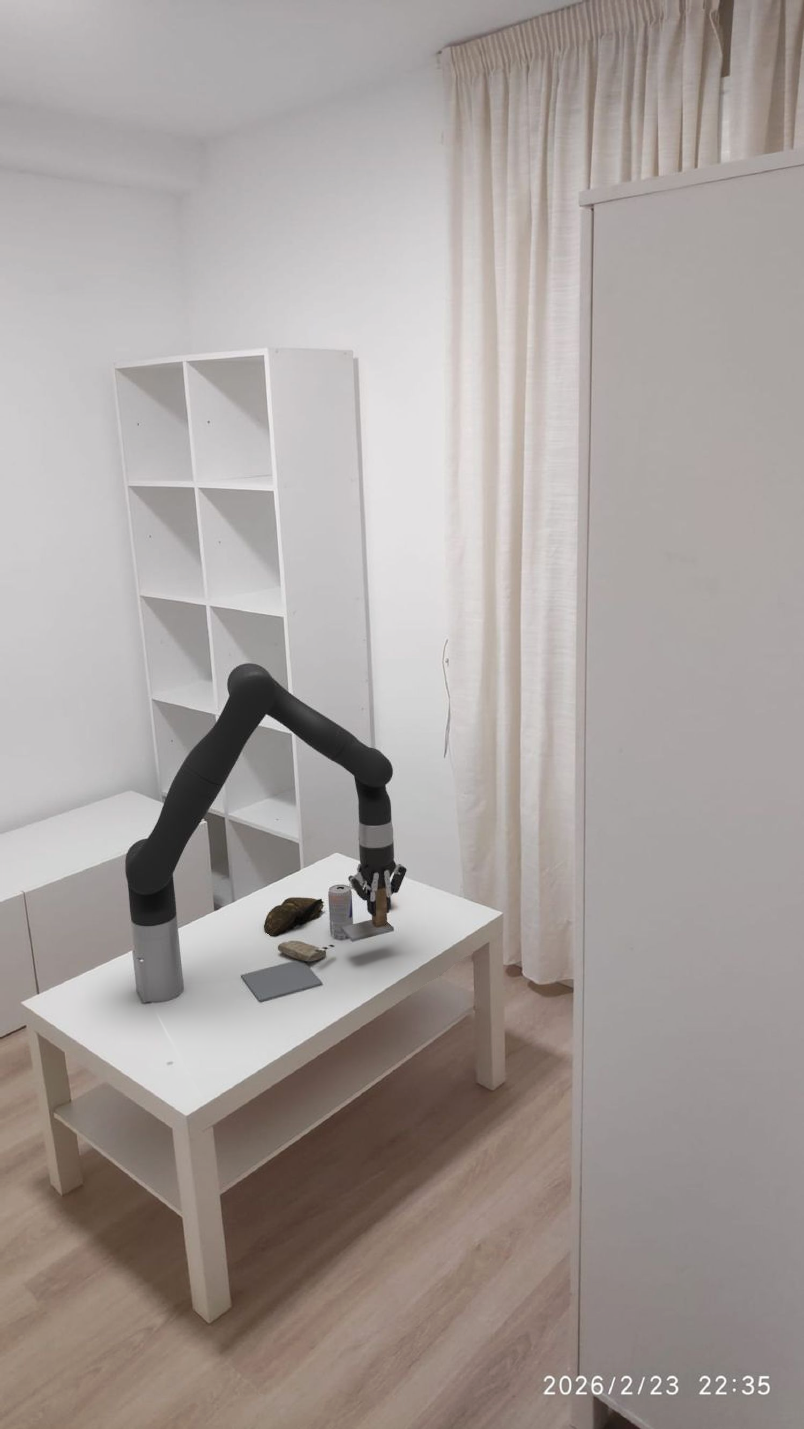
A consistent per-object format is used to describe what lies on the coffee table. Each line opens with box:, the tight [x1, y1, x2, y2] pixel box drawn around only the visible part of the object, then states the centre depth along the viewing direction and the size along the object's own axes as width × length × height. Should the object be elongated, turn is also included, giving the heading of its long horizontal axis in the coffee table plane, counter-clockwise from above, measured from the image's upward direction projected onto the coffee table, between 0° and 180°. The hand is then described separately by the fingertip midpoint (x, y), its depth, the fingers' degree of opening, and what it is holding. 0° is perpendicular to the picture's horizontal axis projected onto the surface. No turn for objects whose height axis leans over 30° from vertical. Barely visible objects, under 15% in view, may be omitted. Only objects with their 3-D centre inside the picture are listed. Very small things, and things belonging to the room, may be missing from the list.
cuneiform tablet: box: [277, 940, 335, 962], centre depth 230 cm, size 6×4×12 cm
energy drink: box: [327, 884, 354, 941], centre depth 238 cm, size 5×5×12 cm
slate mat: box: [240, 959, 324, 1003], centre depth 221 cm, size 14×12×1 cm
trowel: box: [341, 884, 395, 943], centre depth 227 cm, size 10×6×10 cm, turn 117°
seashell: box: [263, 896, 325, 937], centre depth 245 cm, size 16×9×7 cm, turn 138°
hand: (379, 912), depth 228 cm, fingers closed on trowel, 2 cm apart
